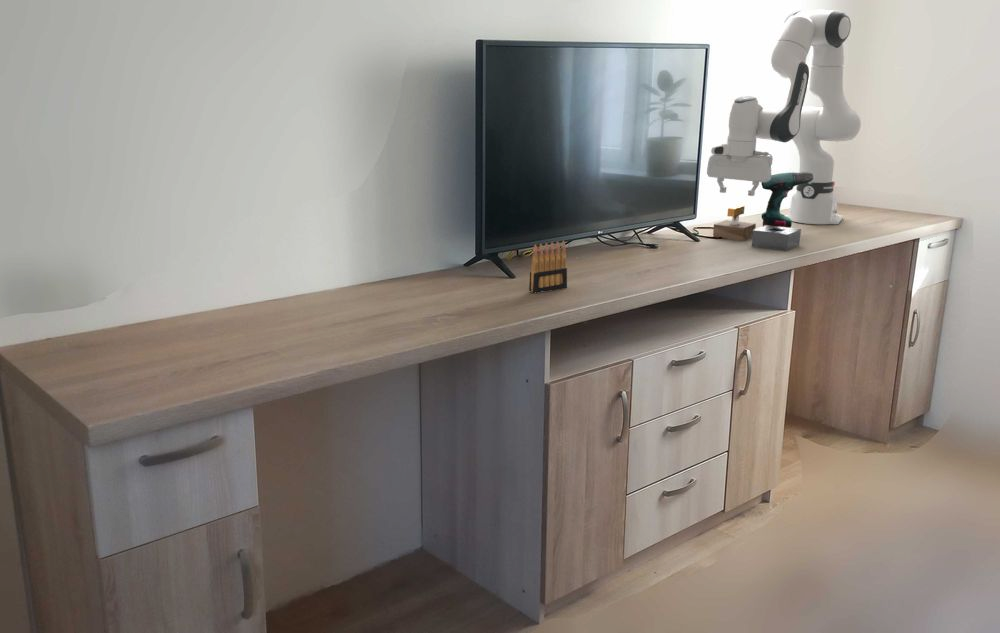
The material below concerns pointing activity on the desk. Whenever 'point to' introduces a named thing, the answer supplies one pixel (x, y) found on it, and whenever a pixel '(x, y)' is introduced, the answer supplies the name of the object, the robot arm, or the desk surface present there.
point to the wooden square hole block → (734, 230)
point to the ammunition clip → (548, 268)
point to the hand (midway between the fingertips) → (736, 194)
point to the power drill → (781, 196)
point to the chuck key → (735, 213)
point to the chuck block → (776, 237)
